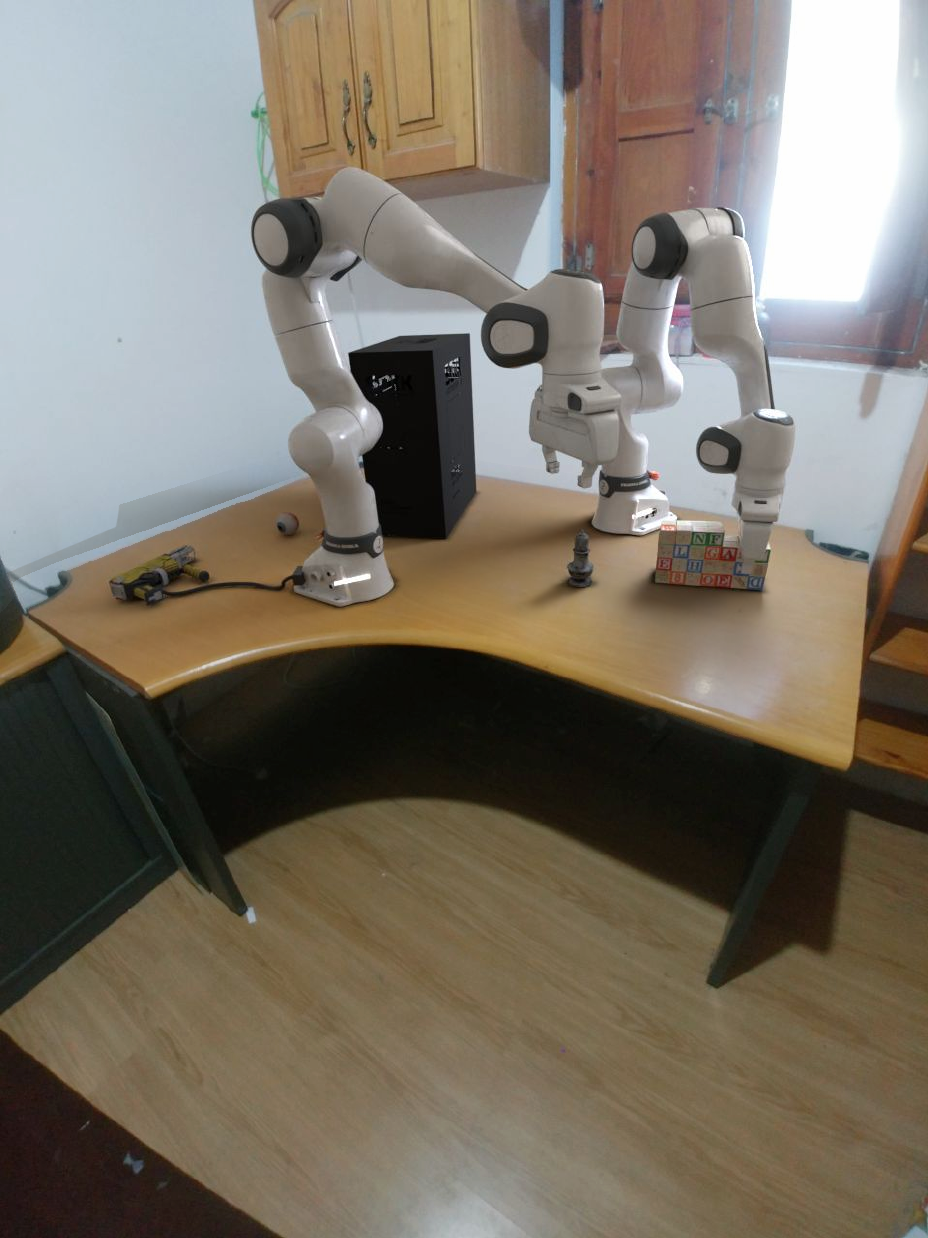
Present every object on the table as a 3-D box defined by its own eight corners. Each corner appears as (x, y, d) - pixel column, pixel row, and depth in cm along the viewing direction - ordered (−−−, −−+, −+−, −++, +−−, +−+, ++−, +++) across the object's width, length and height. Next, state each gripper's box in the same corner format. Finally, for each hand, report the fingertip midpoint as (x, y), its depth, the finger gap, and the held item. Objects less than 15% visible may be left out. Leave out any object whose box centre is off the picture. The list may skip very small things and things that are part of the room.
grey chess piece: (593, 587, 128) (596, 535, 122) (565, 586, 130) (567, 534, 124) (593, 575, 133) (596, 524, 127) (566, 574, 135) (568, 524, 129)
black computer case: (446, 538, 156) (432, 350, 134) (372, 535, 161) (348, 352, 138) (476, 491, 188) (469, 333, 165) (414, 490, 192) (399, 335, 170)
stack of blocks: (759, 578, 129) (770, 523, 123) (762, 591, 124) (774, 535, 118) (654, 570, 135) (660, 518, 129) (654, 582, 130) (660, 528, 123)
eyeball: (273, 537, 164) (268, 516, 161) (287, 528, 169) (282, 508, 166) (291, 539, 161) (286, 518, 158) (305, 530, 166) (301, 510, 163)
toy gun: (232, 553, 147) (182, 542, 151) (158, 593, 127) (102, 580, 131) (234, 570, 150) (185, 559, 154) (162, 613, 130) (107, 599, 134)
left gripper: (519, 384, 99) (520, 467, 106) (592, 403, 83) (587, 499, 90) (552, 380, 102) (550, 461, 109) (629, 397, 85) (621, 492, 92)
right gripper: (736, 480, 127) (725, 541, 134) (742, 514, 110) (729, 582, 117) (769, 482, 125) (757, 544, 132) (780, 517, 108) (765, 585, 115)
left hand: (567, 479), depth 99 cm, fingers open, 8 cm apart
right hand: (744, 562), depth 124 cm, fingers open, 8 cm apart
